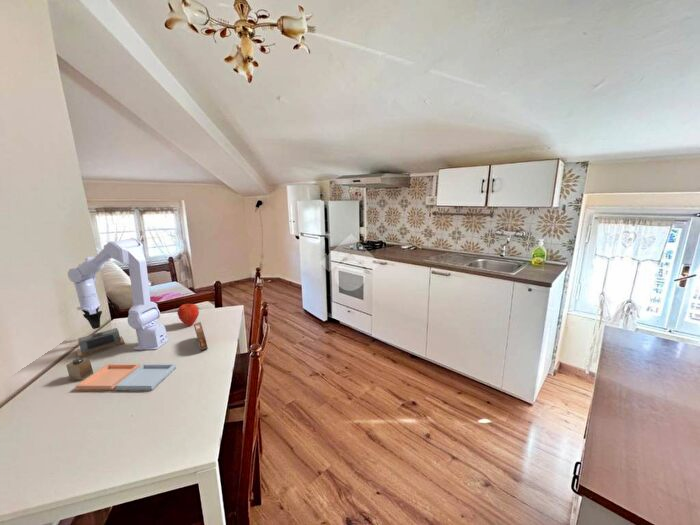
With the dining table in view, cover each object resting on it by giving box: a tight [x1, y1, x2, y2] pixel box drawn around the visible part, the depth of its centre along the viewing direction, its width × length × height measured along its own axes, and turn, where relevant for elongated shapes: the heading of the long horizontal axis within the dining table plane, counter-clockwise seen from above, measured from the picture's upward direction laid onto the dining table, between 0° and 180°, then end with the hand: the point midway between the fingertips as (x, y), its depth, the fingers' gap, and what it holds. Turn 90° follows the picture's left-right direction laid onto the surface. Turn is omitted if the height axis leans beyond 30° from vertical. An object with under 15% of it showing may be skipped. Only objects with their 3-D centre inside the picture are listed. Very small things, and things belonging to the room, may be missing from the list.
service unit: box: [76, 327, 126, 358], centre depth 112 cm, size 7×14×6 cm, turn 137°
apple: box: [177, 303, 200, 327], centre depth 130 cm, size 9×8×11 cm
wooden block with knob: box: [66, 357, 94, 382], centre depth 93 cm, size 4×4×7 cm
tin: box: [193, 321, 208, 351], centre depth 112 cm, size 15×3×8 cm, turn 34°
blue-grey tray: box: [115, 363, 177, 392], centre depth 92 cm, size 12×12×2 cm
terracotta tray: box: [75, 363, 141, 392], centre depth 92 cm, size 12×12×2 cm
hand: (95, 325), depth 116 cm, fingers open, 7 cm apart
